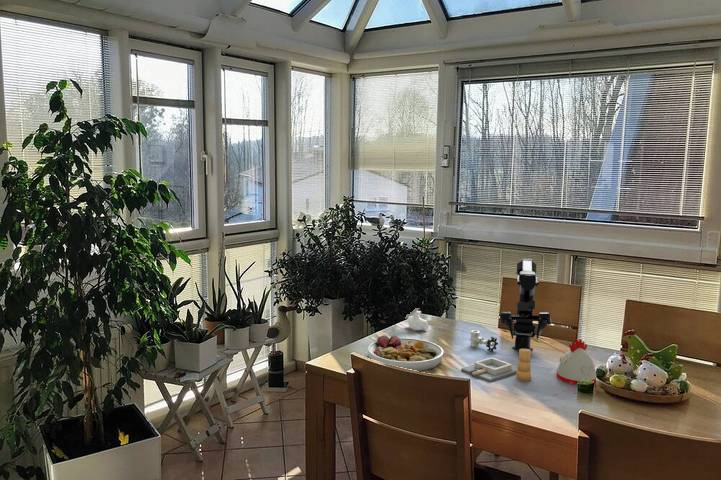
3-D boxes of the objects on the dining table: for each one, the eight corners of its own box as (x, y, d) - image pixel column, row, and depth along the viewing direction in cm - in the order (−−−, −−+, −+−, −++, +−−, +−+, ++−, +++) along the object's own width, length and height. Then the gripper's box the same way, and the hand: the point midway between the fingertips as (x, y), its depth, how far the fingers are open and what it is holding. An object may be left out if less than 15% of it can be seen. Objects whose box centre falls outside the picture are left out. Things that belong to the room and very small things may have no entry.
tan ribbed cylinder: (522, 375, 226) (523, 347, 225) (533, 379, 222) (535, 350, 221) (513, 378, 223) (514, 349, 222) (524, 382, 219) (526, 353, 218)
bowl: (457, 361, 241) (458, 342, 240) (411, 381, 219) (412, 360, 218) (399, 344, 261) (400, 327, 260) (352, 361, 240) (352, 342, 238)
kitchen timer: (548, 374, 228) (551, 336, 226) (577, 369, 233) (579, 332, 231) (575, 387, 215) (578, 347, 213) (604, 382, 221) (607, 343, 219)
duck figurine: (406, 331, 287) (397, 315, 281) (415, 319, 291) (406, 304, 285) (426, 337, 279) (417, 321, 273) (434, 325, 282) (425, 309, 276)
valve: (465, 346, 260) (487, 353, 250) (466, 331, 259) (488, 338, 250) (476, 343, 264) (497, 350, 254) (476, 329, 263) (498, 335, 254)
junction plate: (495, 360, 242) (496, 353, 242) (524, 370, 231) (524, 363, 231) (458, 371, 229) (458, 364, 229) (487, 383, 218) (487, 375, 218)
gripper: (499, 292, 234) (496, 329, 227) (548, 292, 227) (548, 330, 220) (503, 305, 243) (501, 341, 235) (551, 305, 236) (551, 342, 228)
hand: (524, 338), depth 229 cm, fingers open, 9 cm apart
